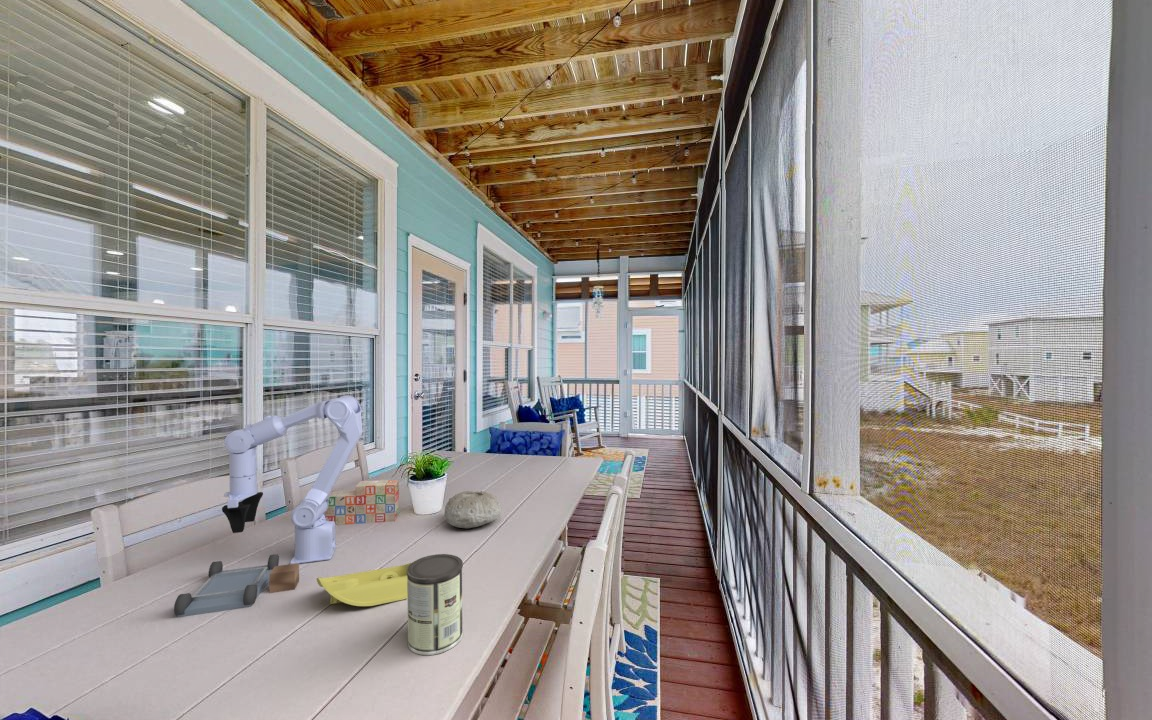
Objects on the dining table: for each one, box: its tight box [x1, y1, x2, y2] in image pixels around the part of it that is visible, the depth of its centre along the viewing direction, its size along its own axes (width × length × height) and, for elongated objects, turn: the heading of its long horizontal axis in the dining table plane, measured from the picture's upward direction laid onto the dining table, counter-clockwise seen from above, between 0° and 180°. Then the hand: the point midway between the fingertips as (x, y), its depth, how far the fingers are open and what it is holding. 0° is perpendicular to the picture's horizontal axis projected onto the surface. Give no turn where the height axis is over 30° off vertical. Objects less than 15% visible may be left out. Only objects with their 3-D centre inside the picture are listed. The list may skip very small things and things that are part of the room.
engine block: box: [268, 563, 300, 594], centre depth 105 cm, size 5×4×4 cm
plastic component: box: [316, 561, 414, 607], centre depth 101 cm, size 20×7×10 cm
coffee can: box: [407, 553, 464, 656], centre depth 86 cm, size 10×10×14 cm
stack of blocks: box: [324, 479, 400, 526], centre depth 148 cm, size 21×6×12 cm, turn 100°
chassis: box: [173, 553, 280, 618], centre depth 104 cm, size 13×20×4 cm
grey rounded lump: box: [443, 490, 502, 529], centre depth 145 cm, size 18×18×10 cm
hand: (243, 526), depth 118 cm, fingers open, 7 cm apart
